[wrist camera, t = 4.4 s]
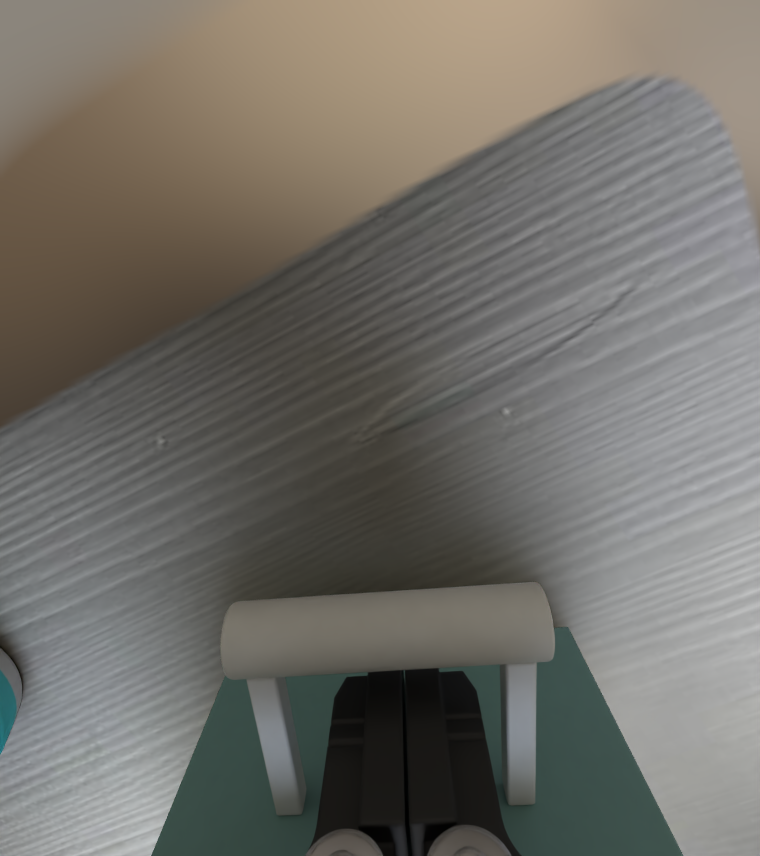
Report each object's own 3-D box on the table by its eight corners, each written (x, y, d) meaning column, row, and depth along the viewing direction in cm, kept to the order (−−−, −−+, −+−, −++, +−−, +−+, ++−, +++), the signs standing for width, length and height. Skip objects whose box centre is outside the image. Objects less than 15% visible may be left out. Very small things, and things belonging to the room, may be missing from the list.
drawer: (203, 501, 14) (-15, 768, 6) (573, 473, 13) (808, 727, 6) (289, 882, 19) (223, 1280, 12) (560, 872, 19) (676, 1282, 11)
